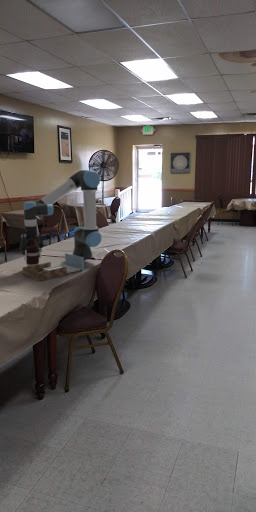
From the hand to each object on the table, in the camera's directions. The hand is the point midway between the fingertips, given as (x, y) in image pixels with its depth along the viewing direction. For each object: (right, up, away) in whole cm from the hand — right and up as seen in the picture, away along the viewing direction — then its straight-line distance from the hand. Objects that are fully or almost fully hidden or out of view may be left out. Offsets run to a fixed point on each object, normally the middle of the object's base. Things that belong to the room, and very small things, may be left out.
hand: (32, 258), depth 263 cm
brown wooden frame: (+11, -10, -13) cm, 20 cm away
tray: (+21, -8, -3) cm, 22 cm away
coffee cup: (0, -7, +2) cm, 7 cm away
